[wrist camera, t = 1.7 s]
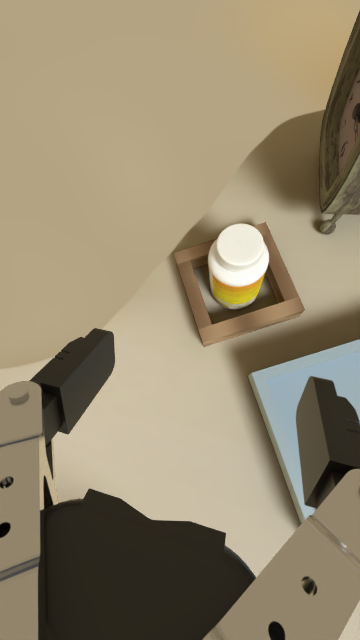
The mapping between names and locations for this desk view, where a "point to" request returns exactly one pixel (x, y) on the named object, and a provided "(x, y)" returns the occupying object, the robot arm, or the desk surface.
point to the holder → (249, 322)
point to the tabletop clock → (342, 139)
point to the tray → (284, 395)
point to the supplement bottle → (237, 266)
